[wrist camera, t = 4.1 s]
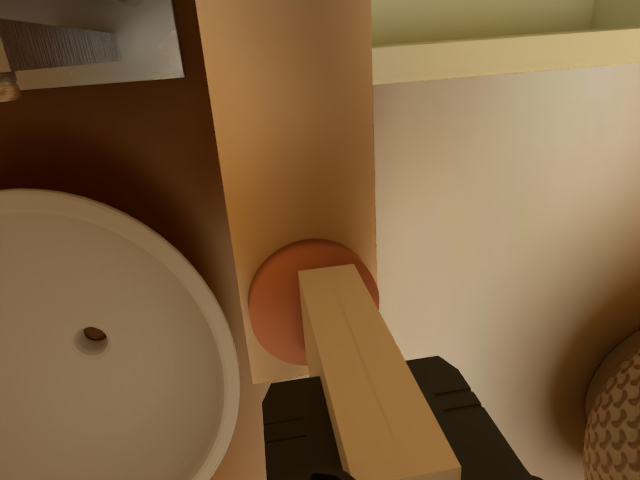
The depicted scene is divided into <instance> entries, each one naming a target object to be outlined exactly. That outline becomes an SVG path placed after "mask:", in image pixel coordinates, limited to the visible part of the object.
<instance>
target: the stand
mask: <svg viewBox="0 0 640 480" xmlns="http://www.w3.org/2000/svg"><path fill="white" fill-rule="evenodd" d="M183 77H186V74H185V68H184V62H183V56H182V50H181V44H180V38H179V32H178V25H177V19H176V13H175V7H174V1H173V0H0V102H6V101H13V100H19V99H22V94H21V91H20V90H28V89H41V88H54V87H67V86H80V85H93V84H106V83H119V82H132V81H144V80H157V79H170V78H183Z"/></svg>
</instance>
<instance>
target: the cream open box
mask: <svg viewBox="0 0 640 480" xmlns="http://www.w3.org/2000/svg"><path fill="white" fill-rule="evenodd" d="M371 29H372V76H373V85H378V84H390V83H401V82H413V81H425V80H437V79H449V78H461V77H473V76H485V75H497V74H509V73H521V72H533V71H545V70H557V69H569V68H581V67H593V66H605V65H617V64H629V63H640V0H371Z"/></svg>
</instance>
